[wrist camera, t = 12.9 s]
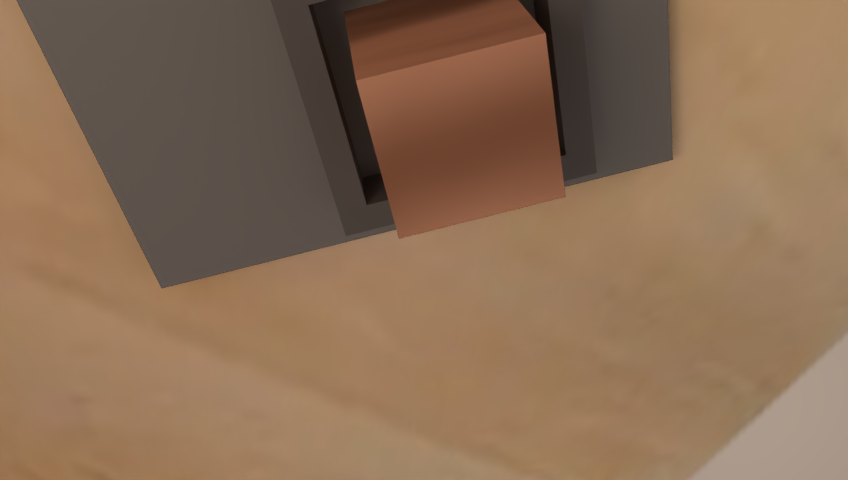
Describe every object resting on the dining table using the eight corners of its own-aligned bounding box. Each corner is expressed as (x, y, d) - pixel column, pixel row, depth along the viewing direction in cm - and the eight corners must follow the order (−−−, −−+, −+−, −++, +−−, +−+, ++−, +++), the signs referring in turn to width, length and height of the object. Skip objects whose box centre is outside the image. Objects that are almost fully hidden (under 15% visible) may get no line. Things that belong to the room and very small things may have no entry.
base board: (165, 273, 31) (153, 321, 28) (13, -36, 24) (-20, -8, 21) (662, 148, 31) (694, 184, 28) (649, -195, 24) (690, -187, 21)
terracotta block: (343, 11, 25) (355, 80, 20) (495, -27, 25) (545, 32, 20) (380, 148, 28) (398, 238, 23) (516, 113, 28) (565, 196, 23)
